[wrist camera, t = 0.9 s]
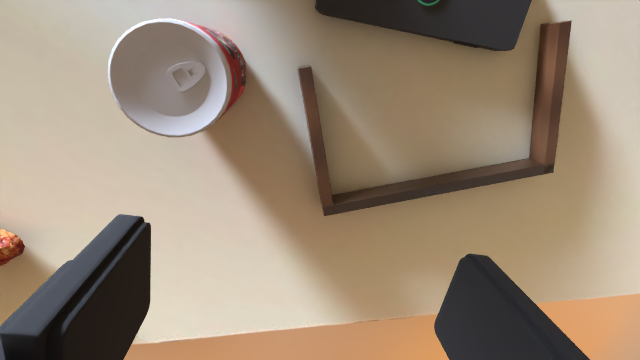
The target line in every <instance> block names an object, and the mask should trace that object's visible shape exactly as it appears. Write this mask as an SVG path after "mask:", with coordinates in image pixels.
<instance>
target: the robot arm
mask: <svg viewBox="0 0 640 360" xmlns="http://www.w3.org/2000/svg"><path fill="white" fill-rule="evenodd" d="M150 265H151V225H150V223H146V222H144V218H143V217H140V216H131V215H122V214H119V215H118V216H116V217H115V218H114V219H113V220H112V221H111V222H110V223H109V224H108V225H107V226H106V227H105V228H104V229H103V230H102V231H101V232H100V233H99V234H98V235H97V236H96V237H95V238H94V239H93V240H92V241H91V242H90V243H89V244H88V245H87V246H86V247H85V248H84V249H83V250H82V251H81V252H80V253H79V254H78V255H77V256H76V257H75V258H74V259H73V260H70V261H68V262H66V263H65V264H64V265H62V266H61V267H60V268H59V269H58V270H57V271H56V272H55V273H54V274H53V275H52V276H51V277H50V278H49V279H48V280H47V281H46V282H45V283H44V284H43V285H42V286H41V287H40V288H39V289H38V290H37V291H36V292H35V293H34V294H33V295H32V296H31V297H30V298H29V299H28V300H27V301H26V302H25V303H24V304H23V305H21V306H20V307H19V308H18V309H17V310H16V311H15V312H14V313H13V314H12V315H11V316H10V317H9V318H8V319H7V320H6V321H5V322H4V323H3V324H2V325H1V326H0V360H123V359H124V357H125V356H126V354H127V352H128V350H129V348H130V346H131V344H132V342H133V340H134V338H135V336H136V334H137V332H138V330H139V328H140V326H141V325H142V323H143V321H144V319H145V317H146V315H147V312H148V309H149V305H150ZM434 326H435V333H436V335H437V337H438V339H439V341H440V342H441V345H442V347H443V348H444V350H445V352H446V354H447V356H448V358H449V360H590V359H589V358H588V357H587V356H586V355H585V354H584V353H583V352H582V351H581V350H580V349H579V348H578V347H577V346H576V345H575V344H574V343H573V342H572V341H571V340H570V339H569V338H568V337H567V336H566V335H565V334H564V333H563V332H562V331H561V330H560V329H559V328H558V327H557V326H556V325H555V324H554V323H553V322H552V321H551V319H549V318H548V316H547V315H546V314H545V313H544V312H543V311H542V310H541V309H539V307H538V306H537V305H536V304H535V303H534V302H533V301H532V300H531V299H530V298H529V297H528V296H527V295H526V294H525V293H524V292H523V291H522V290H521V289H520V288H519V287H518V286H517V285H516V284H515V283H514V282H513V281H512V280H511V279H510V278H509V277H508V276H507V275H506V274H505V273H504V272H503V271H502V270H501V269H500V268H499V267H498V266H497V265H496V264H495V262H494V261H493V260H492V259H491V258H489V257H488V256H485V255H477V254H467V255H466V256H465V257H464V258H462V259H461V260H460V261H459V263H458V266H457V268H456V271H455V273H454V276H453V278H452V281H451V283H450V286H449V288H448V291H447V293H446V296H445V298H444V301H443V303H442V306H441V308H440V311H439V313H438V316H437V318H436V321H435V325H434Z"/></svg>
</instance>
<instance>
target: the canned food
mask: <svg viewBox="0 0 640 360" xmlns="http://www.w3.org/2000/svg"><path fill="white" fill-rule="evenodd" d="M108 80H109V86H110V89H111V92H112V94H113V97H114V99H115V101H116V102H117V104H118V106H119V108H120V109H121V110H122V111H123V112H124V114H125V115H126V116H127V117H128V118H129V119H130V120H132V121H133V122H134V123H135V124H136V125H138V126H140V127H141V128H143V129H145V130H147V131H149V132H151V133H154V134H157V135H161V136H166V137H185V136H190V135H194V134H196V133H199V132H201V131H204V130H205V129H207V128H208V127H210V126H212V125H213V124H214V123H215V122H216V121H217V120H218V119H219V118H221V117H222V116H223V115H224V113H225V112H226V111H227V110H228V109H229V108H230V107H231V106H232V105H233V104H234V103H235V102H236V101H237V99H238V98H239V97H240V95H241V94H242V92H243V89H244V87H245V83H246V65H245V61H244V58H243V56H242V54H241V52H240V50H239V49H238V47H237V46H236V45H235V44H234V43H233V42H232V41H231V40H230V39H229V38H227V37H226V36H225V35H223V34H221V33H219V32H217V31H214V30H211V29H208V28H205V27H202V26H198V25H195V24H192V23H188V22H184V21H180V20H175V19H155V20H149V21H145V22H142V23H140V24H137V25H135V26H133V27H132V28H130V29H129V30H127V31H126V32H125V33H124V34H123V35H122V36H121V37H120V38H119V39H118V41H117V42H116V44H115V46H114V48H113V49H112V51H111V55H110V58H109V62H108Z"/></svg>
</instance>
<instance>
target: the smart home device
mask: <svg viewBox="0 0 640 360" xmlns="http://www.w3.org/2000/svg"><path fill="white" fill-rule="evenodd" d="M531 1H532V0H316V6H315V8H316V10H317V11H318V12H319V13H321V14H323V15H327V16H331V17H336V18H341V19H346V20H350V21H355V22H360V23H365V24H370V25H374V26H379V27H384V28H389V29H393V30H398V31H403V32H408V33H412V34H417V35H422V36H427V37H432V38H436V39H441V40H446V41H451V42H454V43H456V44H461V45H465V46H470V47H475V48H478V47H479V48H484V49H489V50H494V51H509V50H512V49H514V47H515V45H516V43H517V40H518V37H519V34H520V31H521V29H522V26H523V23H524V20H525V17H526V15H527V12H528V9H529V6H530V3H531Z"/></svg>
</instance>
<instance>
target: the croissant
mask: <svg viewBox="0 0 640 360" xmlns="http://www.w3.org/2000/svg"><path fill="white" fill-rule="evenodd" d="M24 247H25V246H24V244H23V241H21V240H20V238H19V237H18V236H16V235H15V234H12V233H9V232H7V231H6V230H3V229H0V266H2V265H4V264H6V263H7V262H9V261H10V260H11V259H13V258H15V257H17V256H19V255H21V254H22V253H23V250H24Z"/></svg>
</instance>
